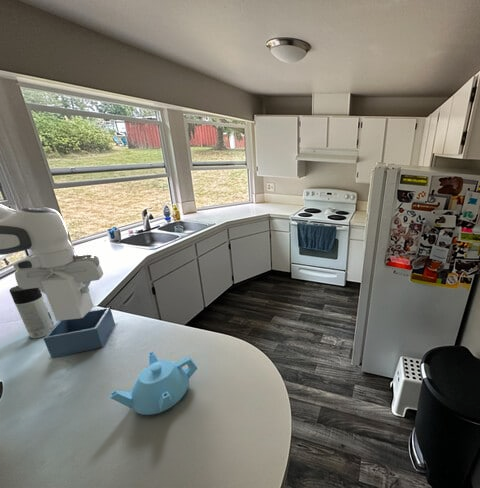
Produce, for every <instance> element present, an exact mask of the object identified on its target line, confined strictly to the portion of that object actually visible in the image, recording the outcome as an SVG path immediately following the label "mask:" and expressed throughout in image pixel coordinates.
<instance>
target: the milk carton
mask: <svg viewBox="0 0 480 488" xmlns="http://www.w3.org/2000/svg"><path fill="white" fill-rule="evenodd" d="M50 270H51V273H50V274H49V275H48V276H47V277H46V278H45V279H44V280H42V281H41V283H42V285H43V288H44V290H45V293H46V294H45V295H46V298H47V300H48V303H49V306H50V308H51V311H52V313H53V316H54V318H55V321H56V322H58V321H61V320H70V319H79V318H83V317H84V316H85V315H86V314H87V313H88V312H89V311H92V310H93V308H94V303H93V300H92V298H91V294H90V291H89V292H88V293H83V294H82V291H81V289H82V288H83V287H85V285H86V284H85V285H83V282H79V283H75V280H74V277H73V276H71V275H68V274H66V273H64V272H62V271H59V270H55V271H53V270H52V269H50ZM54 273H55V274H57V275H59V276H60V277H53V278H48V277H50V276H51V275H52V274H54Z"/></svg>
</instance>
